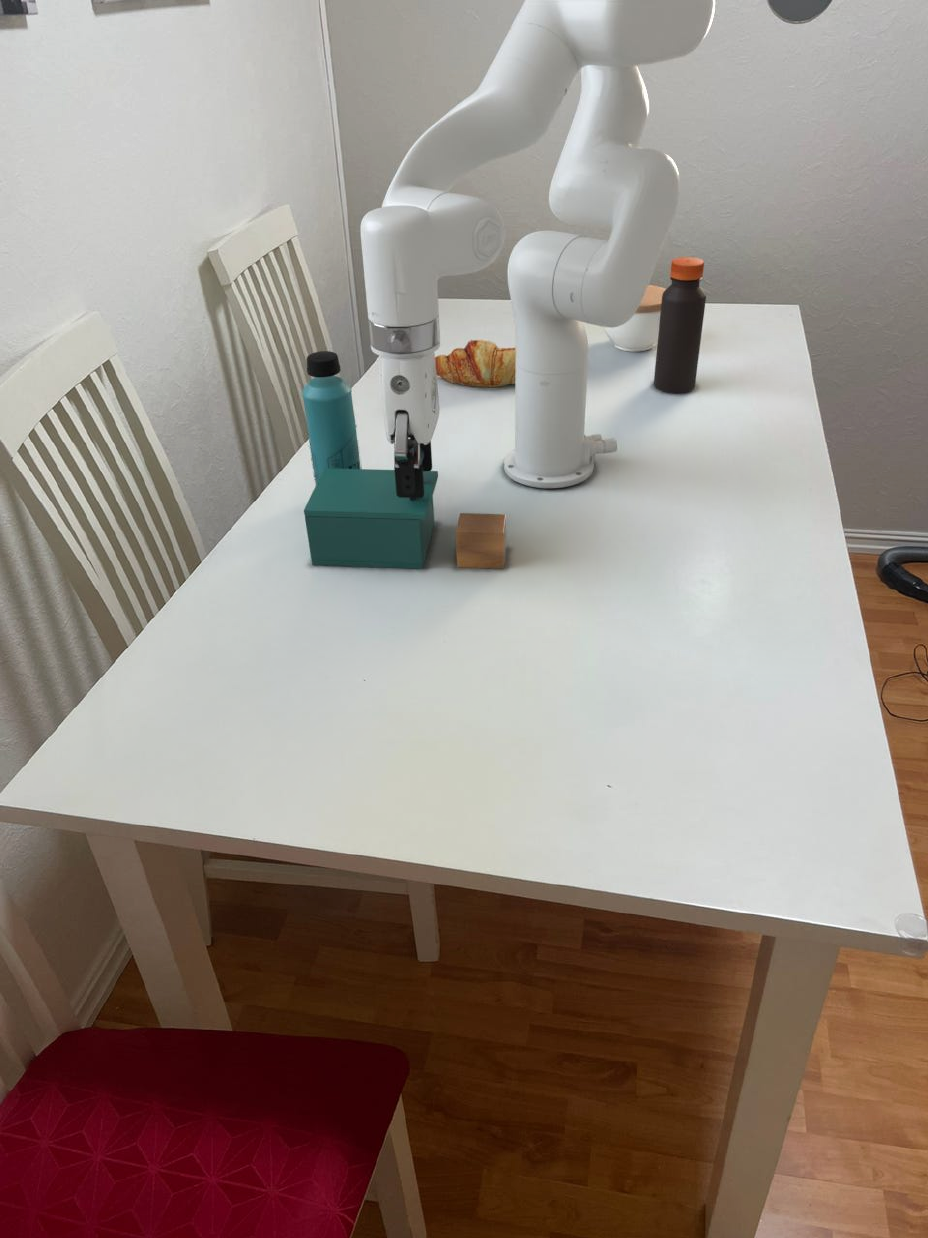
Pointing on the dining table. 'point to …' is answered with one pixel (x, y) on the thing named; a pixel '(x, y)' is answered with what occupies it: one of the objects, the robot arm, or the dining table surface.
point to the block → (481, 540)
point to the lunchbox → (369, 541)
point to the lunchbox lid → (368, 495)
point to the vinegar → (680, 327)
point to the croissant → (478, 365)
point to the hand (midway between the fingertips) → (414, 481)
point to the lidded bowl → (640, 324)
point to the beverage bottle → (329, 416)
